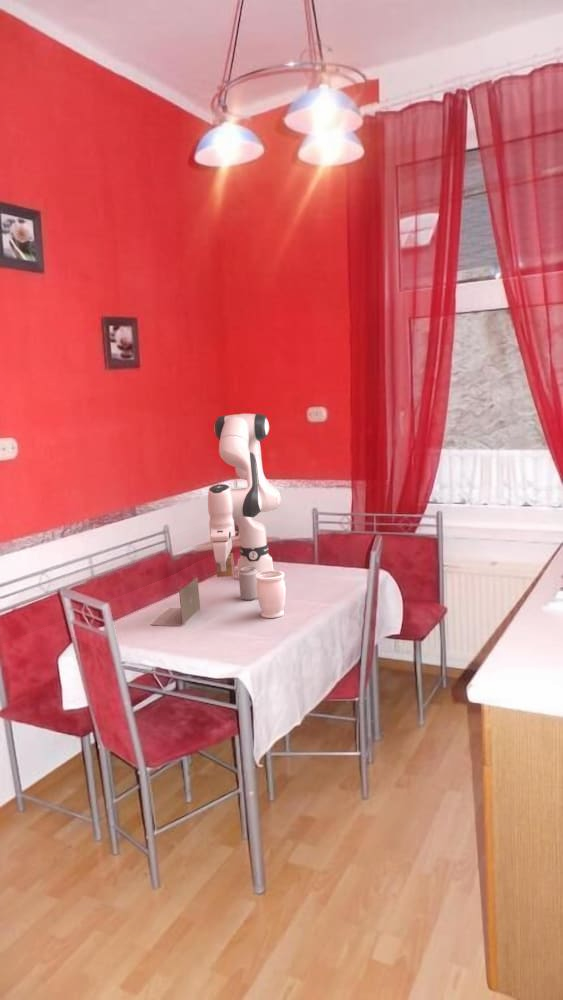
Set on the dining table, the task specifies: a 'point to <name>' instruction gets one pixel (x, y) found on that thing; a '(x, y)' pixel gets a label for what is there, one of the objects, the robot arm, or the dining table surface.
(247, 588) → the can
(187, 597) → the laptop
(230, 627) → the dining table surface
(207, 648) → the dining table surface
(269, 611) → the jar
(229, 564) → the walnut block
